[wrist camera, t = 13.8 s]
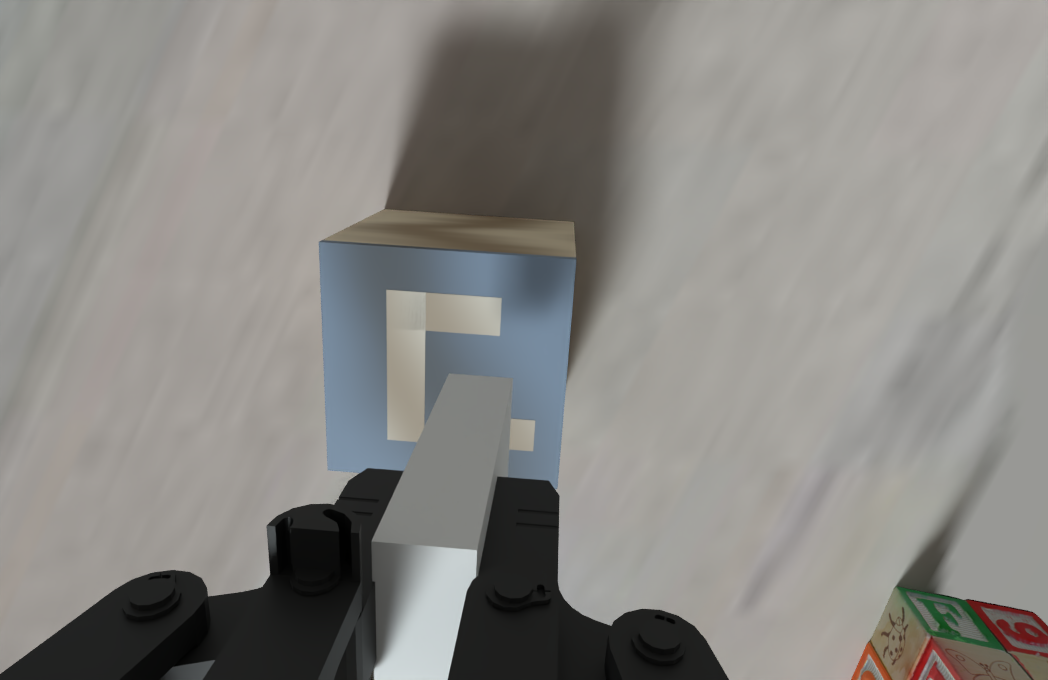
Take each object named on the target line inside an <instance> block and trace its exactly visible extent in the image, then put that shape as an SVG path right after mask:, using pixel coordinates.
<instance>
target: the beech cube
mask: <svg viewBox="0 0 1048 680" xmlns="http://www.w3.org/2000/svg"><path fill="white" fill-rule="evenodd" d="M319 259H320V285H321V310H322V336H323V361H324V387H325V412H326V437H327V463H328V470H331V471H343V472H356V473H361V472H362V471H364V470H365V469H367V468H374V469H387V470H399V471H404V470H405V468H406V465H407V463H408V461H409V459H410V457H411V455H412V452H413V450H414V448H415V446H416V444H417V442H418V439H419V437H420V435H421V433H422V431H423V429H424V426H425V424H426V422H427V420H428V418H429V416H430V413H431V411H432V409H433V407H434V405H435V403H436V401H437V398H438V396H439V394H440V392H441V390H442V388H443V385H444V383H445V381H446V379H447V377H448V375H449V373H450V374H463V375H477V376H490V377H504V378H513V387H512V406H511V424H510V443H509V462H508V477H511V478H523V479H536V480H548V481H550V483H551V484H552V486H553V487H554V489H557V486H558V474H559V462H560V450H561V438H562V426H563V414H564V402H565V390H566V378H567V366H568V354H569V342H570V330H571V318H572V306H573V294H574V282H575V270H576V247H575V232H574V222H569V221H554V220H539V219H524V218H509V217H494V216H479V215H465V214H450V213H435V212H420V211H405V210H390V209H384V210H382V211H380V212H378V213H376V214H374V215H372V216H370V217H368V218H366V219H364V220H362V221H360V222H358V223H356V224H354V225H352V226H350V227H348V228H346V229H344V230H342V231H340V232H338V233H336V234H334V235H332V236H330V237H328V238H326V239H324V240H322V241H320V242H319Z"/></svg>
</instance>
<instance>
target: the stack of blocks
mask: <svg viewBox="0 0 1048 680" xmlns="http://www.w3.org/2000/svg"><path fill="white" fill-rule="evenodd" d="M851 680H1048V626H1047V625H1046V624H1045V623H1044V622H1043V621H1042V620H1041V619H1040V618H1039V617H1038V616H1037V615H1036V614H1035V613H1033V612H1031V611H1028V610H1022V609H1017V608H1012V607H1008V606H1002V605H997V604H992V603H987V602H982V601H976V600H971V599H966V600H962V599H959V598H956V597H951V596H947V595H942V594H939V595H936V594H931V593H926V592H921V591H916V590H911V589H906V588H902V587H895V588H894V590H893V592H892V594H891V596H890V599H889V601H888V603H887V605H886V607H885V610H884V612H883V614H882V616H881V619H880V621H879V623H878V625H877V627H876V630H875V632H874V634H873V636H872V638H871V641H870V642H868V644H867V645H866V647H865V650H864V652H863V654H862V656H861V659H860V661H859V663H858V665H857V668H856V670H855V672H854V675H853V677H852V679H851Z"/></svg>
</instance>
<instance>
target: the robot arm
mask: <svg viewBox="0 0 1048 680" xmlns="http://www.w3.org/2000/svg"><path fill="white" fill-rule="evenodd" d="M512 387H513V378H504V377H490V376H477V375H463V374H450V373H449V375H448V377H447V379H446V381H445V383H444V385H443V388H442V390H441V392H440V394H439V396H438V398H437V401H436V403H435V405H434V407H433V409H432V411H431V413H430V416H429V418H428V420H427V422H426V424H425V426H424V429H423V431H422V433H421V435H420V437H419V439H418V442H417V444H416V446H415V448H414V450H413V452H412V455H411V457H410V459H409V461H408V463H407V465H406V468H405V470H404V471H399V470H387V469H374V468H367V469H365V470H364V471H362V472H361V473H359V474H358V475H357V476H355V477H354V478H352V479H351V480H349V481H348V483H347V485H346V486H345V488H344V490H343V491H342V493H341V495H340V496H339V500H337V501H336V503H335V505H332V504H310V505H305V506H301V507H297V508H293V509H291V510H289V511H286V512H284V513H282V514H280V515H278V516H277V517H276V518H274V519H273V520H272V521H271V522H270V523H269V524H268V525H267V537H268V550H269V563H270V576H269V578H268V579H267V581H266V582H265V584H264V585H263V587H261V588H258V589H254V590H250V591H245V592H239V593H232V594H224V595H217V596H210V597H208V593H207V587H206V585H205V584H204V582H203V580H202V578H200V577H198V576H196V575H194V574H192V573H191V572H185V571H176V570H170V571H162V572H154V573H150V574H147V575H144V576H141V577H138V578H135V579H132V580H131V581H129V582H127V583H125V584H124V585H122V586H120V587H119V588H117V589H115V590H114V591H112V592H111V593H109V594H108V595H107V596H105V597H104V598H103V599H101V600H100V601H99V602H97V603H96V604H95V605H93V606H92V607H91V608H89V609H88V610H86V611H85V612H84V613H82V614H81V615H80V616H78V617H77V618H76V619H74V620H73V621H72V622H70V623H69V624H67V625H66V626H65V627H63V628H62V629H61V630H59V631H58V632H57V633H55V634H54V635H53V636H51V637H50V638H49V639H47V640H46V641H44V642H43V643H42V644H40V645H39V646H38V647H36V648H35V649H34V650H32V651H31V652H30V653H28V654H27V655H25V656H24V657H23V658H21V659H20V660H19V661H17V662H16V663H15V664H13V665H12V666H11V667H9V668H8V669H6V670H5V671H4V672H2V673H1V674H0V680H370V677H371V674H372V672H373V669H374V680H729V679H728V677H727V676H726V674H725V672H724V670H723V669H722V667H721V665H720V663H719V662H718V660H717V658H716V657H715V655H714V653H713V651H712V650H711V648H710V646H709V645H708V643H707V641H706V639H705V638H704V637H703V636H702V635H701V634H700V632H699V631H698V630H697V629H696V628H695V626H693V625H692V624H690V623H688V622H687V621H685V620H684V619H682V618H681V617H679V616H677V615H674V614H671V613H668V612H665V611H661V610H652V609H639V610H635V611H631V612H627V613H624V614H623V615H622V616H620V617H619V618H618V619H616V620H615V621H614V622H613V624H612V626H610V625H607V624H604V623H601V622H598V621H595V620H593V619H591V618H589V617H586V616H584V615H582V614H581V613H579V612H578V611H576V610H575V609H573V608H572V607H571V606H570V605H569V604H568V603H567V602H566V601H565V600H564V598H563V596H562V594H561V593H560V591H559V586H558V537H559V495H558V493H557V492H556V490H555V489H554V487H553V486H552V484H551V483H550V481H548V480H536V479H523V478H511V477H508V462H509V443H510V424H511V406H512Z"/></svg>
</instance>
